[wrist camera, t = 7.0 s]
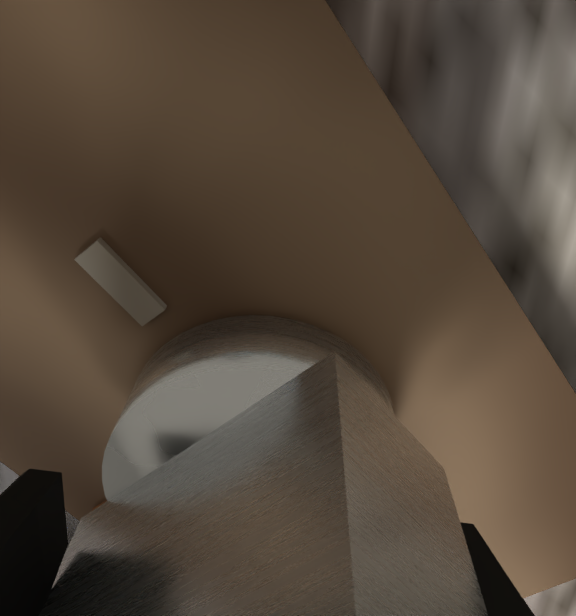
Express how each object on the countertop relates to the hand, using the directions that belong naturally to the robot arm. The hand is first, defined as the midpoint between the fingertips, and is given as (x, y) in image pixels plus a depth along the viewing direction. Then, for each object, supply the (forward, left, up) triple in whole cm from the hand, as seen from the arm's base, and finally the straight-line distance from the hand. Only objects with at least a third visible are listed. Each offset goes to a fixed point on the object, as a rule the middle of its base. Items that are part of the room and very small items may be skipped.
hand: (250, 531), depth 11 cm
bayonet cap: (0, 0, -3) cm, 3 cm away
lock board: (0, 0, -5) cm, 5 cm away
